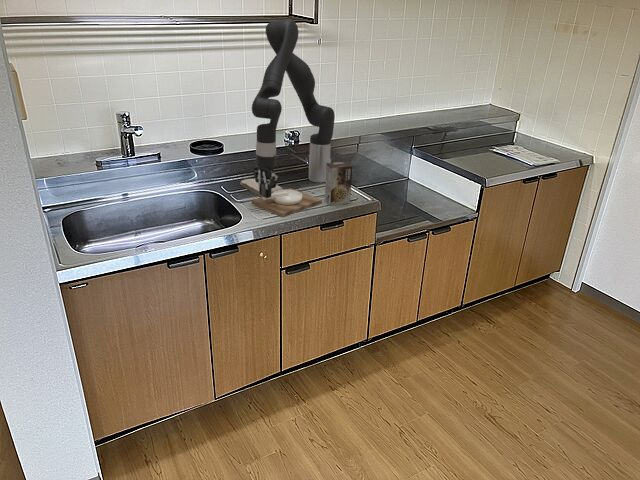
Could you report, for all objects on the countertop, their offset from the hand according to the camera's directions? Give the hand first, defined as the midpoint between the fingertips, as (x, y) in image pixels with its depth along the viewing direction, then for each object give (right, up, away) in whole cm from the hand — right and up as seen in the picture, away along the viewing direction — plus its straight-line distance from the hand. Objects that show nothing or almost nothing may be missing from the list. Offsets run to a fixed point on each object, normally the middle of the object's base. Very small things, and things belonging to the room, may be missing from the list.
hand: (265, 195), depth 202 cm
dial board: (+8, -3, +8) cm, 11 cm away
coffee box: (+28, -2, +12) cm, 31 cm away
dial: (+6, -1, +5) cm, 8 cm away
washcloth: (-4, +4, +22) cm, 23 cm away
